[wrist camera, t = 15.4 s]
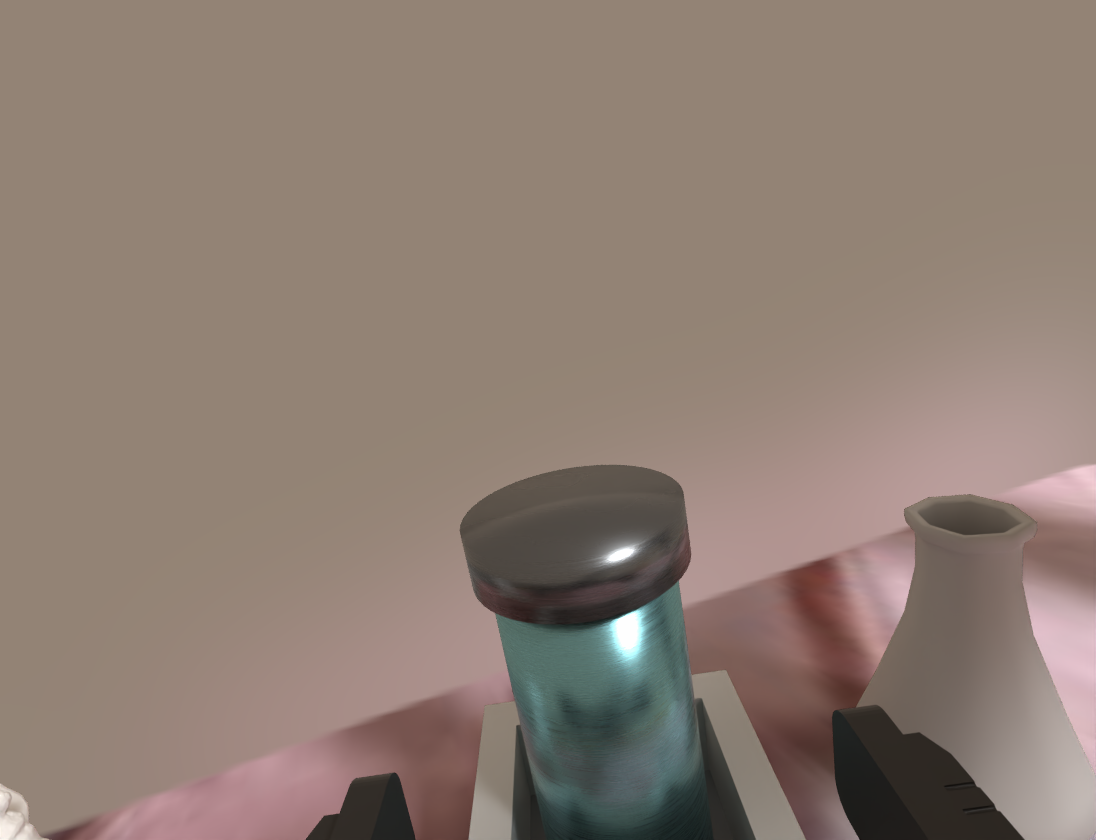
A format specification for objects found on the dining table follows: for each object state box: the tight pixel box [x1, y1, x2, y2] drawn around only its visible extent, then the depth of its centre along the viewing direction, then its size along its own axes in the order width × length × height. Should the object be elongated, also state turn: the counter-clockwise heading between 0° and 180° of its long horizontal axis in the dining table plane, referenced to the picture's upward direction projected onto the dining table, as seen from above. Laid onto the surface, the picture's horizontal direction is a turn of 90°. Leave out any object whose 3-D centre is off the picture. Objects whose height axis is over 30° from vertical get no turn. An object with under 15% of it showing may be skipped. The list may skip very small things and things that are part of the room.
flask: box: [856, 494, 1096, 840], centre depth 20 cm, size 7×7×10 cm
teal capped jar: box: [460, 465, 714, 840], centre depth 16 cm, size 6×6×12 cm
